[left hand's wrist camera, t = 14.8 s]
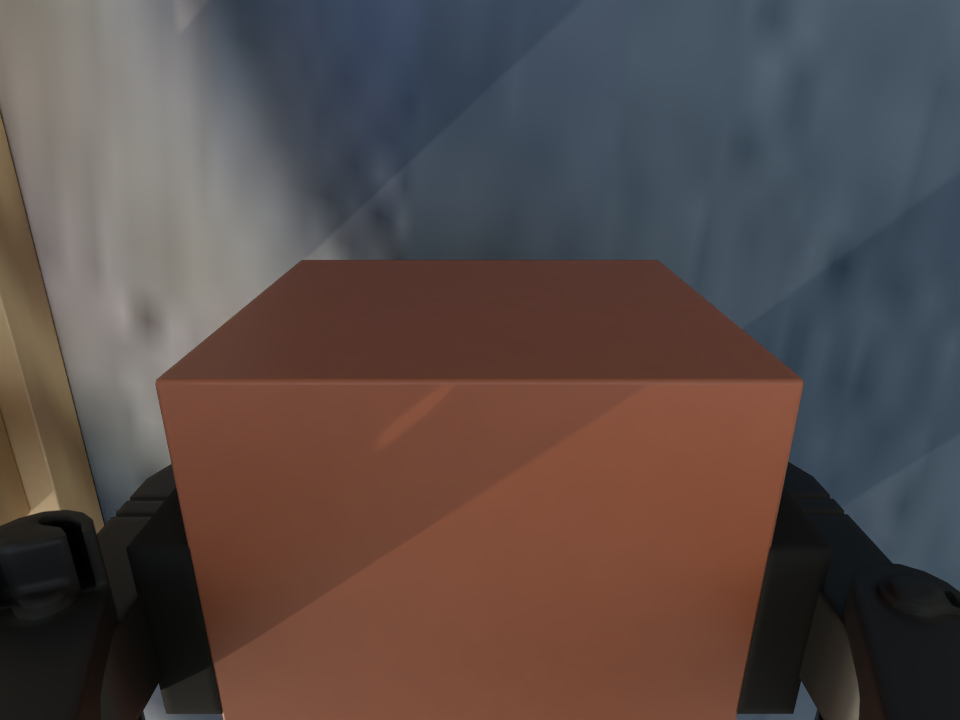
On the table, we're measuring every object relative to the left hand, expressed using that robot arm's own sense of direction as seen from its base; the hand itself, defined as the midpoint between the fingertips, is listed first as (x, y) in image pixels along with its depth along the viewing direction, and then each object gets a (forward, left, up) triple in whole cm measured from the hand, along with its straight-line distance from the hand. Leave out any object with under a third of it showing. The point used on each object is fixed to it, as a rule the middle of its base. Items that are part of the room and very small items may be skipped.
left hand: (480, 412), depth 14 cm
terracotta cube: (0, 0, 0) cm, 0 cm away
